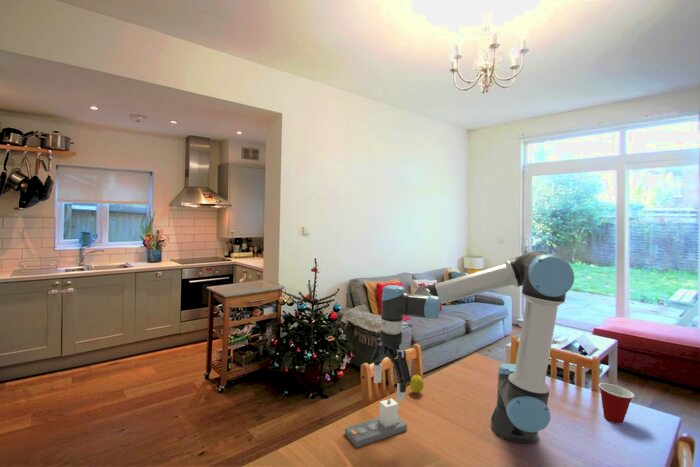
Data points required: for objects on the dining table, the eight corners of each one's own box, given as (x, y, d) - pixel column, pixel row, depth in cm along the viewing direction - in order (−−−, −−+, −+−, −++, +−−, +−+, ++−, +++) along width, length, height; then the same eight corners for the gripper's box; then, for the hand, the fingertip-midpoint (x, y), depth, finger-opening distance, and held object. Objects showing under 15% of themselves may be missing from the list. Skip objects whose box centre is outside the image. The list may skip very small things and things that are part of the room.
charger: (397, 429, 121) (398, 400, 121) (385, 433, 119) (386, 404, 118) (390, 422, 125) (391, 395, 124) (379, 426, 122) (379, 398, 122)
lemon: (413, 397, 145) (414, 378, 144) (407, 390, 150) (408, 372, 150) (425, 395, 146) (426, 377, 146) (419, 389, 152) (420, 371, 151)
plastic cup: (640, 428, 127) (642, 396, 127) (612, 428, 126) (614, 396, 126) (615, 411, 138) (617, 381, 137) (589, 411, 137) (591, 382, 137)
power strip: (406, 433, 121) (407, 422, 120) (356, 450, 111) (357, 439, 111) (393, 420, 128) (393, 411, 127) (344, 436, 118) (345, 425, 118)
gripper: (363, 321, 129) (360, 377, 130) (405, 345, 107) (401, 412, 108) (380, 319, 133) (377, 373, 134) (424, 341, 111) (420, 406, 112)
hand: (388, 391), depth 121 cm, fingers open, 13 cm apart
